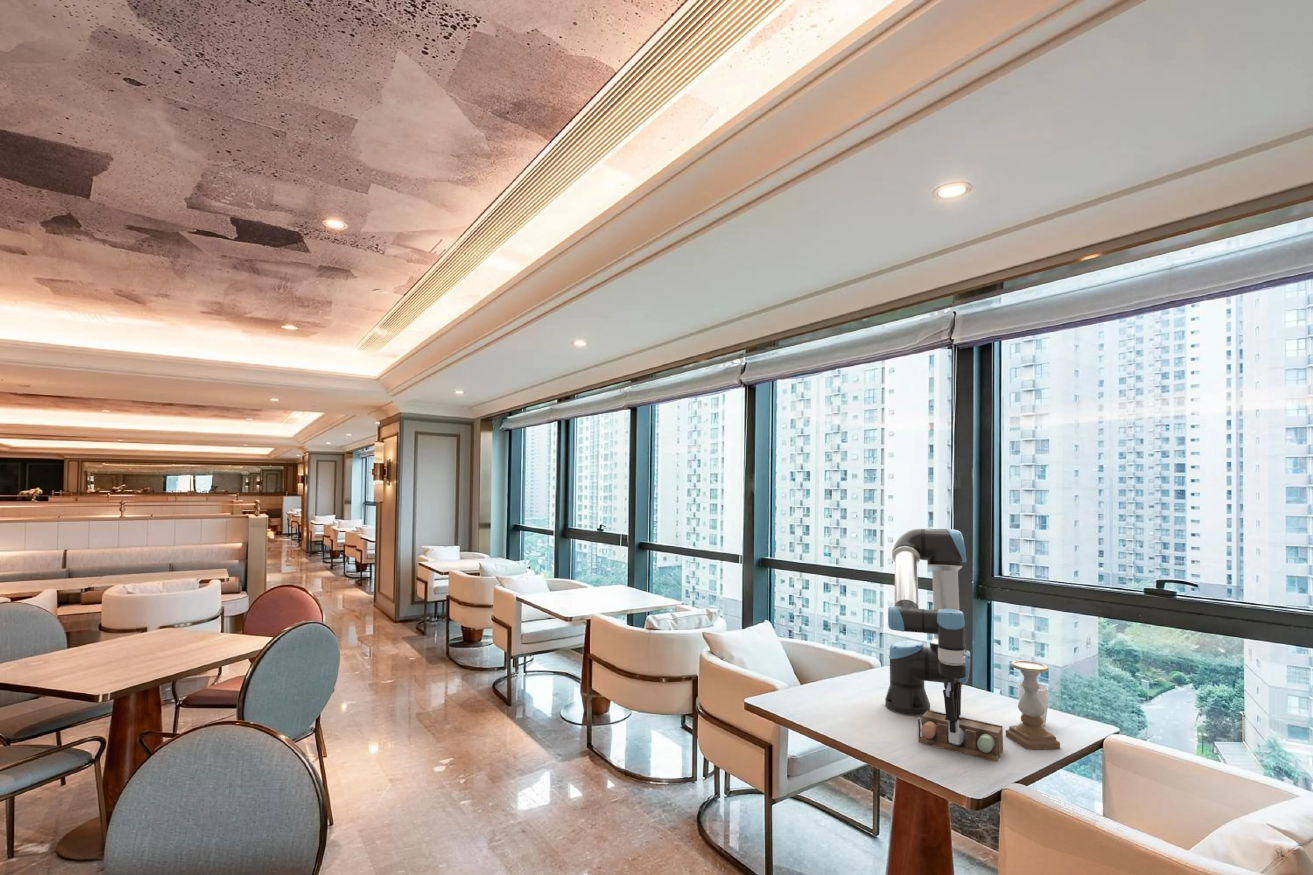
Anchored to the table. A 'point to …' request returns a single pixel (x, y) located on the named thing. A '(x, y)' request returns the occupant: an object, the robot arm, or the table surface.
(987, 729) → the console
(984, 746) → the button sage
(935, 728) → the button terracotta
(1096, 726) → the table surface
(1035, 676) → the candle holder
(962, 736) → the button slate
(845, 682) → the table surface
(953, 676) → the robot arm
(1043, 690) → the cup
